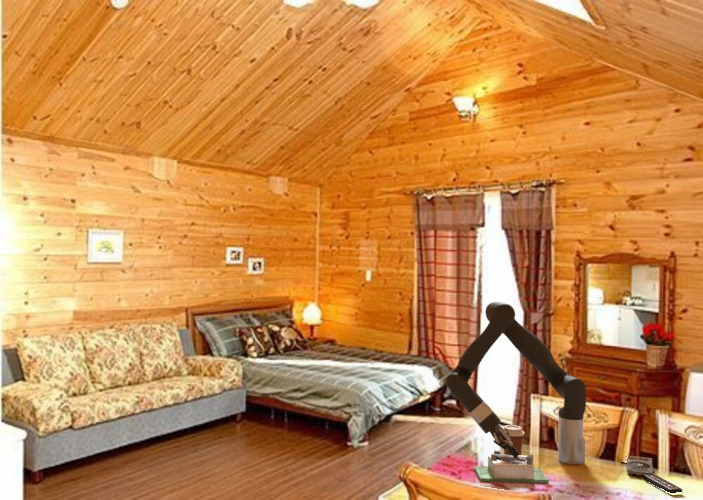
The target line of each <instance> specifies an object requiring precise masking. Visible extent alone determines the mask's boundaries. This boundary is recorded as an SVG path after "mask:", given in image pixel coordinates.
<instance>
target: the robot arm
mask: <svg viewBox="0 0 703 500" xmlns="http://www.w3.org/2000/svg"><path fill="white" fill-rule="evenodd" d="M484 313H485V317H486V319H487V321H488V324H487V326H486V328H484V330H483V332H481V334H479V336H478V337H476V338H475V339H474V340H473V341H472V342H471V343H470V344H469V345H468V346H467V348H466V349H465V351H464V352H463V354H462V355H461V357H460V358H459V360H458V363H457V365H456V367H455V368H454V369H453V371H452V372H451V373H449V374H448V375H447V377H446V378H445V384H446V387H447V388H448V389H449V391H450V392H451V393H452V394H453V395H454V396H455V397H456V398H457V399H458V400H459V401H460V403H461V404H462V405H463V407H464V409H465V410H466V411H467V412H468V413H469V415H470V416H471V418H472V419H473V421H474V422H475V423H476V424H477V425H478V426H479V427H480V429H481V430H482V431H483V433H485V434H488V433H490V434H491V436H492V438H493V443H494V444H496V445H497V446H498V447H500V448H501V449H503V451H504V450H505V449H506V450H508V451H509V452H510V453H511V454H512V455H513V457H514V458H516V457H517V456H519V454H520V453H519V452H518V450H517V449H516V448H515V447H514V446H513V440H512V438H511V436H510V434H509V432H508V430H504V427H503V426H501V425H500V423H501V421H502V419H501V418H499V416H498V415H497V413H495V412H494V410H493V409H492V408H491V406H489V405H488V404H487V403H486V402H485V401H484V400H483V398H482V397H481V396H480V395H479V394H478V393H477V392H476V391H475V390H474V389H473V388H472V387H471V385H470V384H469V383H468V382H469V381H470V378H471V377H472V374H473V373H474V372H475V371H476V370H477V368H478V367H479V366H480V363H481V362H482V360H483V359H484V358H485V356H486V355H487V353H488V351H489V350H491V348H492V346H493V345H494V344H495V343H496V342H497V340H498V339H499V338H500V337H501V336H502V335H504V336H505V337H507V339H508V341H510V343H512V345H513V347H515V349H516V350H517V351H518V352H519V353H520V354H521V355H522V356H523V357H524V358H525V360H526V361H527V362H528V363H529V364H530V365H532V367H534V368H535V369H536V370H537V371H538V372H539V373H540V374H541V375H543V377H544V378H545V379H546V380H547V382H548V383H549V385H551V387H552V388H553V389H554V391H555V392H556V394H558V395H559V396H560V397H562V398H563V407H560V408H558V437H557V438H558V441H557V443H558V444H557V445H558V446H557V448H558V449H557V452H558V453H557V459H558V461H559V462H560V463H563V464H567V465H581V464H586V439H585V437H584V414H585V412H586V409H587V385H586V383H585V382H584V381H583V380H582V379H581V378H578V377H576V376H573V375H571V374H569V373H568V372H566V371H565V370H564V369H563V368H562V367H561V366H560V365H559V364H558V363H557V361H556V359H555V358H554V355H553V353H552V352H551V350H550V348H548V346H547V345H546V344H545V343H544V342H543V341H542V340H541V339H540V338H539V337H538V336H537V335H535V334H534V333H533V332H531V331H530V330H529V329H528V328H526V327H525V326H523V325H522V324H521V323H519V322H518V320H516V312H515V309H514V307H513V306H512V305H511V304H508V303H505V302H501V301H493V302H489V304H488V305H487V306H486V308H485V311H484Z"/></svg>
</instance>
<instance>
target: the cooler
mask: <svg viewBox="0 0 703 500" xmlns="http://www.w3.org/2000/svg"><path fill="white" fill-rule="evenodd" d="M496 453H497V454H501V450H494V451H493V453H491V454H488V456H487V466H485V465H484V466H483V465H482V466H480V465H478V466H477V465H473V466H474V467H473V470H474V471H475V474H476V475H477V478H478V479H480V480H479V482H480V481H481V483H484V481H485V483H515V484H517V483H518V484H519V483H520V484H521V483H522V484H549V483H550V482H549V478H548V477H547V476H546V475H545V474H544V473H543V471H542V470H541V469H540V468H539V467H534V455H533V454H527V455H522V454H521V455H519V456H522V457H526V461H525V462H524V461H516V460H507V459H498V458H497V455H496Z"/></svg>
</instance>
